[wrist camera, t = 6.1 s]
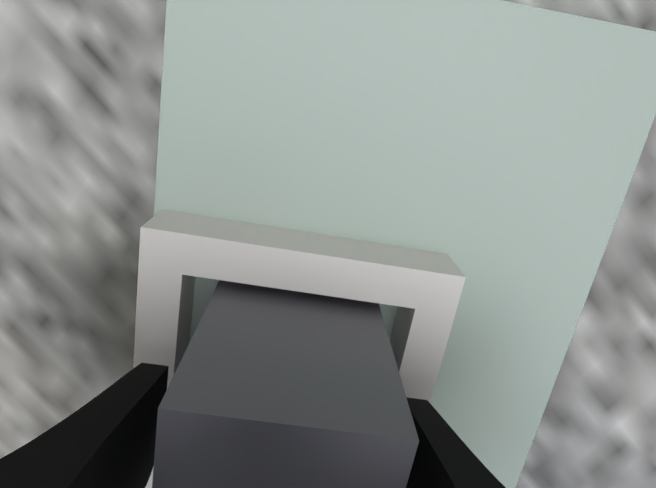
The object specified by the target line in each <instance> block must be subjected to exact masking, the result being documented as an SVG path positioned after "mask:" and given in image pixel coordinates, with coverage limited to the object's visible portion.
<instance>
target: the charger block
mask: <svg viewBox="0 0 656 488" xmlns="http://www.w3.org/2000/svg"><path fill="white" fill-rule="evenodd" d="M418 443H419V438H418V435H417V431H416V428H415V425H414V421H413V418H412V415H411V411H410V408H409V404H408V401H407V398H406V394H405V391H404V387H403V384H402V381H401V377H400V374H399V371H398V367H397V364H396V360H395V357H394V354H393V350H392V347H391V344H390V340H389V337H388V333H387V330H386V327H385V323H384V320H383V316H382V313H381V310H380V306H379V303H372V302H366V301H359V300H352V299H345V298H338V297H332V296H325V295H318V294H311V293H304V292H298V291H291V290H284V289H277V288H270V287H264V286H257V285H250V284H243V283H236V282H230V281H223V280H219V282H218V284H217V286H216V288H215V290H214V292H213V294H212V296H211V299H210V301H209V303H208V305H207V307H206V309H205V311H204V313H203V315H202V317H201V319H200V321H199V324H198V326H197V328H196V330H195V332H194V334H193V336H192V338H191V340H190V342H189V344H188V347H187V349H186V351H185V353H184V355H183V357H182V359H181V361H180V363H179V365H178V367H177V370H176V372H175V374H174V376H173V378H172V380H171V382H170V384H169V386H168V388H167V390H166V393H165V395H164V397H163V399H162V401H161V403H160V405H159V407H158V414H157V427H156V441H155V455H154V468H153V482H152V488H406V485H407V482H408V478H409V475H410V471H411V468H412V464H413V461H414V457H415V454H416V450H417V447H418Z"/></svg>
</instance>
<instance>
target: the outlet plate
mask: <svg viewBox="0 0 656 488" xmlns="http://www.w3.org/2000/svg"><path fill="white" fill-rule="evenodd" d="M655 115H656V32H655V31H650V30H645V29H640V28H635V27H630V26H625V25H621V24H616V23H611V22H606V21H601V20H596V19H591V18H586V17H581V16H576V15H572V14H567V13H562V12H557V11H552V10H547V9H542V8H537V7H532V6H527V5H523V4H518V3H513V2H508V1H503V0H167V5H166V21H165V37H164V54H163V70H162V86H161V103H160V119H159V135H158V152H157V168H156V184H155V200H154V216H153V217H152V218H151V219H150V220H149V221H147V222H146V223H145V224H144V225H143V226H141V228H140V247H139V266H138V285H137V304H136V323H135V341H134V360H133V369H134V368H135V367H136V366H138V365H139V364H141V363H149V364H157V365H164V366H169V368H168V381H167V388H168V386H169V384H170V382H171V380H172V378H173V376H174V374H175V372H176V370H177V367H178V365H179V363H180V361H181V359H182V357H183V355H184V353H185V351H186V349H187V347H188V344H189V342H190V340H191V338H192V336H193V334H194V332H195V330H196V328H197V326H198V324H199V321H200V319H201V317H202V315H203V313H204V311H205V309H206V307H207V305H208V303H209V301H210V299H211V296H212V294H213V292H214V290H215V288H216V286H217V284H218V282H219V280H223V281H230V282H236V283H243V284H250V285H257V286H264V287H270V288H277V289H284V290H291V291H298V292H304V293H311V294H318V295H325V296H332V297H338V298H345V299H352V300H359V301H366V302H372V303H379V306H380V310H381V313H382V316H383V320H384V323H385V327H386V330H387V333H388V337H389V340H390V344H391V347H392V350H393V354H394V357H395V360H396V364H397V367H398V371H399V374H400V377H401V381H402V384H403V387H404V391H405V394H406V397H408V398H416V399H423V400H428V402H429V403H430V404H431V405H432V406H433V407H434V408H435V409H436V410H437V412H438V413H439V414H440V415H441V416H442V418H443V419H444V420H445V421H446V422H447V423H448V425H449V426H450V427H451V428H452V429H453V430H454V432H455V433H456V434H457V435H458V436H459V437H460V439H461V440H462V441H463V442H464V443H465V444H466V446H467V447H468V448H469V449H470V450H471V451H472V452H473V453H474V455H475V456H476V457H477V458H478V459H479V460H480V461H481V462H482V463H483V464H484V466H485V467H486V468H487V469H488V470H489V471H490V472H491V473H492V474H493V475H494V476H495V477H496V478H497V479H498V480H499V481H500V482H501V483H502V484H503V485H504V486H505V487H506V488H515V487H516V485H517V482H518V479H519V477H520V474H521V471H522V469H523V466H524V463H525V461H526V458H527V456H528V453H529V450H530V448H531V445H532V442H533V440H534V437H535V434H536V432H537V429H538V426H539V424H540V421H541V418H542V416H543V413H544V410H545V408H546V405H547V402H548V400H549V397H550V394H551V392H552V389H553V386H554V384H555V381H556V378H557V376H558V373H559V370H560V368H561V365H562V362H563V360H564V357H565V354H566V352H567V349H568V347H569V344H570V341H571V339H572V336H573V333H574V331H575V328H576V325H577V323H578V320H579V317H580V315H581V312H582V309H583V307H584V304H585V301H586V299H587V296H588V293H589V291H590V288H591V285H592V283H593V280H594V277H595V275H596V272H597V269H598V267H599V264H600V261H601V259H602V256H603V253H604V251H605V248H606V245H607V243H608V240H609V238H610V235H611V232H612V230H613V227H614V224H615V222H616V219H617V216H618V214H619V211H620V208H621V206H622V203H623V200H624V198H625V195H626V192H627V190H628V187H629V184H630V182H631V179H632V176H633V174H634V171H635V168H636V166H637V163H638V160H639V158H640V155H641V152H642V150H643V147H644V144H645V142H646V139H647V137H648V134H649V131H650V129H651V126H652V123H653V121H654V118H655ZM153 468H154V466H153ZM152 482H153V469H152V472H151V475H150V478H149V480H148V483H147V485H146V487H145V488H152Z"/></svg>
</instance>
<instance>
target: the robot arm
mask: <svg viewBox="0 0 656 488" xmlns="http://www.w3.org/2000/svg"><path fill="white" fill-rule="evenodd" d="M168 368H169V366H164V365H157V364H149V363H141V364H139V365H138V366H136V367H135V368H134V369H132V370H131V371H130V372H128V373H127V374H126V375H124V376H123V377H122V378H120V379H119V380H118V381H117V382H115V383H114V384H113V385H111V386H110V387H109V388H107V389H106V390H105V391H103V392H102V393H101V394H99V395H98V396H97V397H95V398H94V399H93V400H91V401H90V402H88V403H87V404H86V405H84V406H83V407H81V408H80V409H79V410H77V411H76V412H74V413H73V414H72V415H70V416H69V417H67V418H66V419H64V420H63V421H61V422H60V423H58V424H57V425H55V426H54V427H52V428H51V429H49V430H48V431H46V432H45V433H43V434H41V435H40V436H38V437H37V438H35V439H34V440H32V441H31V442H29V443H27V444H26V445H24V446H22V447H21V448H19V449H17V450H15V451H14V452H12V453H10V454H8V455H7V456H5V457H3V458H1V459H0V488H145V487H146V485H147V483H148V480H149V478H150V475H151V472H152V469H153V466H154V455H155V441H156V427H157V414H158V407H159V405H160V403H161V401H162V399H163V397H164V395H165V393H166V390H167V381H168ZM406 398H407V401H408V404H409V408H410V411H411V415H412V418H413V421H414V425H415V428H416V431H417V435H418V438H419V443H418V447H417V450H416V454H415V457H414V461H413V464H412V468H411V471H410V475H409V478H408V482H407V485H406V488H506V487H505V486H504V485H503V484H502V483H501V482H500V481H499V480H498V479H497V478H496V477H495V476H494V475H493V474H492V473H491V472H490V471H489V470H488V469H487V468H486V467H485V466H484V464H483V463H482V462H481V461H480V460H479V459H478V458H477V457H476V456H475V455H474V453H473V452H472V451H471V450H470V449H469V448H468V447H467V446H466V444H465V443H464V442H463V441H462V440H461V439H460V437H459V436H458V435H457V434H456V433H455V432H454V430H453V429H452V428H451V427H450V426H449V425H448V423H447V422H446V421H445V420H444V419H443V418H442V416H441V415H440V414H439V413H438V412H437V410H436V409H435V408H434V407H433V406H432V405H431V404H430V403H429V402H428V400H423V399H416V398H408V397H406Z"/></svg>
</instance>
